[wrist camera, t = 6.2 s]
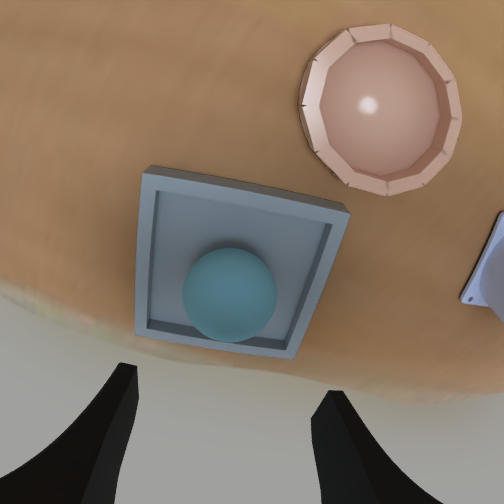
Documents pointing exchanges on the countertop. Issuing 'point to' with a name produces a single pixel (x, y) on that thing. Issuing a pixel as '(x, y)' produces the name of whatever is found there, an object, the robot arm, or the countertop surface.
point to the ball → (229, 295)
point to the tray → (231, 236)
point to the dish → (380, 109)
